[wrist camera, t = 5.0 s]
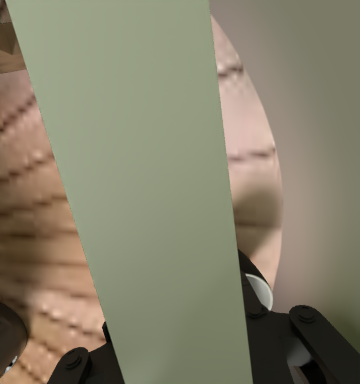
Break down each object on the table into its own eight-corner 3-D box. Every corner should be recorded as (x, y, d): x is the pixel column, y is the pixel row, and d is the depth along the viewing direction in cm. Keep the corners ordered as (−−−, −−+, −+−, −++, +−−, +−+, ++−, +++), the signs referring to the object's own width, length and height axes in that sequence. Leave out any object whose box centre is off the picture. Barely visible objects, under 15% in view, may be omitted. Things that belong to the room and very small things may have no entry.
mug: (204, 230, 39) (217, 266, 29) (255, 244, 40) (284, 282, 31) (183, 292, 42) (188, 343, 32) (231, 303, 43) (250, 355, 34)
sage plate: (171, 303, 19) (181, 564, 8) (110, 18, 14) (-146, -481, 2) (208, 297, 20) (271, 546, 8) (161, 9, 14) (148, -519, 2)
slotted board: (-21, 77, 31) (-128, 50, 20) (-30, 51, 31) (-148, 7, 19) (132, 50, 32) (114, 8, 20) (127, 24, 31) (104, -36, 19)
